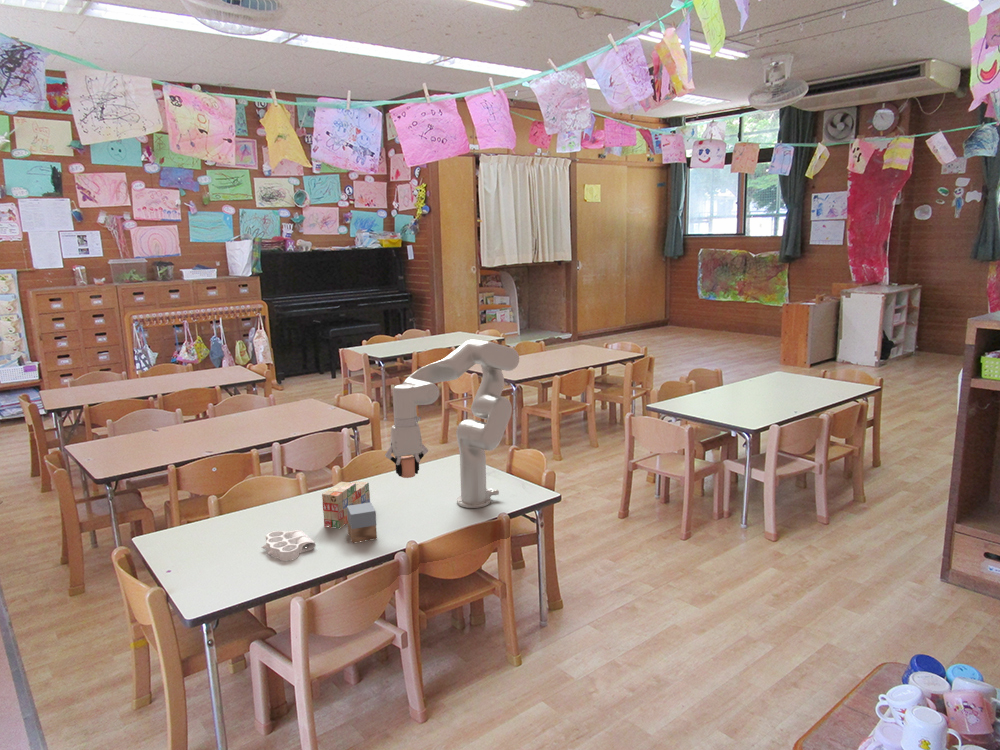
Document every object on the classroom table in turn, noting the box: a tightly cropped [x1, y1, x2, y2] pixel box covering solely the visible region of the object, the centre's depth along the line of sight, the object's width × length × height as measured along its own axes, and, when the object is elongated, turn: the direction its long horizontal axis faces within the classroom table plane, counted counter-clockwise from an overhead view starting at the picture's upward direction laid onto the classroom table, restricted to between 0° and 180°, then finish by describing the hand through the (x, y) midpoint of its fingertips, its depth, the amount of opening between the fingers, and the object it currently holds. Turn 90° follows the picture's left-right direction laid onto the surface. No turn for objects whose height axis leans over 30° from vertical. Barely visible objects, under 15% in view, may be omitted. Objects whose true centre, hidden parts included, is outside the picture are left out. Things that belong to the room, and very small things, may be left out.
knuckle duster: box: [261, 529, 316, 562], centre depth 224 cm, size 3×18×15 cm
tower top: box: [347, 501, 377, 529], centre depth 231 cm, size 8×8×5 cm
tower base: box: [346, 520, 378, 544], centre depth 232 cm, size 8×8×5 cm
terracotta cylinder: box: [400, 455, 416, 479], centre depth 234 cm, size 5×5×6 cm
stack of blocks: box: [321, 480, 371, 529], centre depth 248 cm, size 21×6×12 cm, turn 161°
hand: (407, 473), depth 234 cm, fingers closed on terracotta cylinder, 4 cm apart
